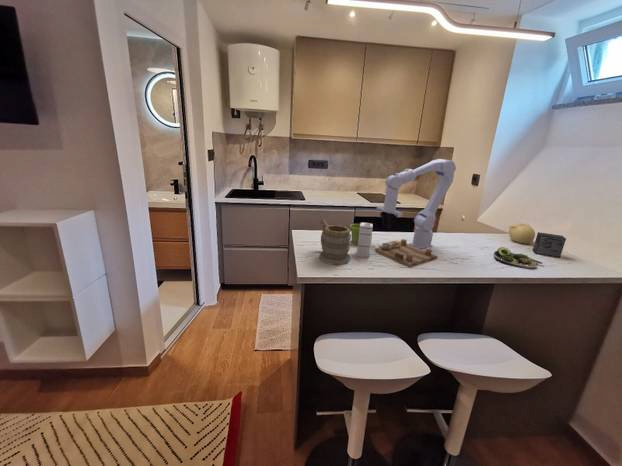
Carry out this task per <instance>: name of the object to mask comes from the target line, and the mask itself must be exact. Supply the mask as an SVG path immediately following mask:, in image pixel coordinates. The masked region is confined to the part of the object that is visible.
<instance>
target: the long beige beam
mask: <svg viewBox="0 0 622 466" xmlns="http://www.w3.org/2000/svg"><path fill="white" fill-rule="evenodd" d="M400 246H401V240H398V239H397V240H391V241H388V242H382V243H381V247H382V249H383V250H388V249H392V248H396V247H400Z"/></svg>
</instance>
